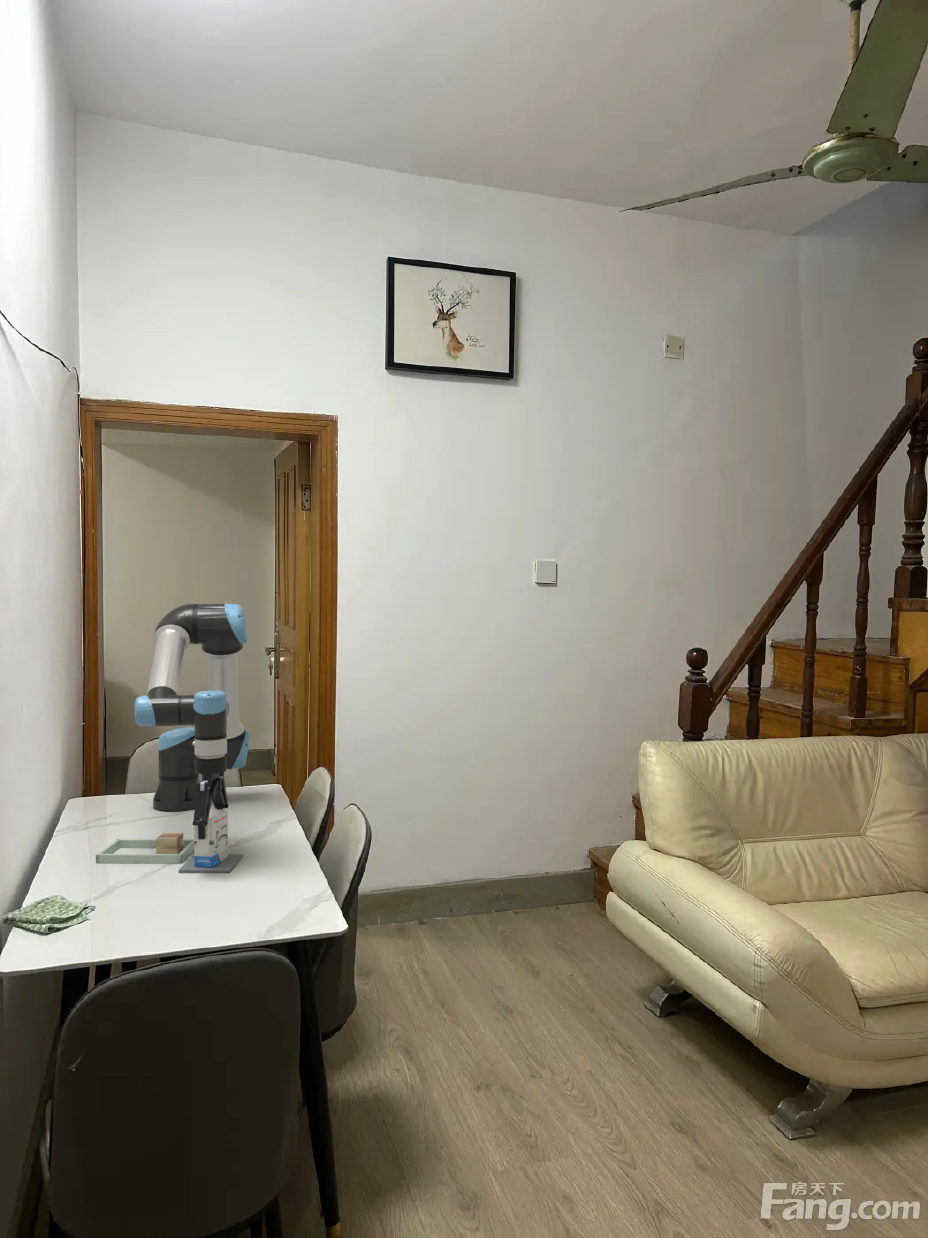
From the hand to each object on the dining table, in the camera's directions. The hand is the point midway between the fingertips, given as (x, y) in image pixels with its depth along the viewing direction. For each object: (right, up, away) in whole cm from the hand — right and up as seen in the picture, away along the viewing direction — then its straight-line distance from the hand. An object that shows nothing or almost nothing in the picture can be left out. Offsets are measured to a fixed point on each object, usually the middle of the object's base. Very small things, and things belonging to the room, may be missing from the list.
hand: (211, 843), depth 202 cm
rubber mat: (0, -5, 0) cm, 5 cm away
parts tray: (-18, -5, +7) cm, 20 cm away
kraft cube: (-13, -5, +7) cm, 15 cm away
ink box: (0, -5, 0) cm, 5 cm away
